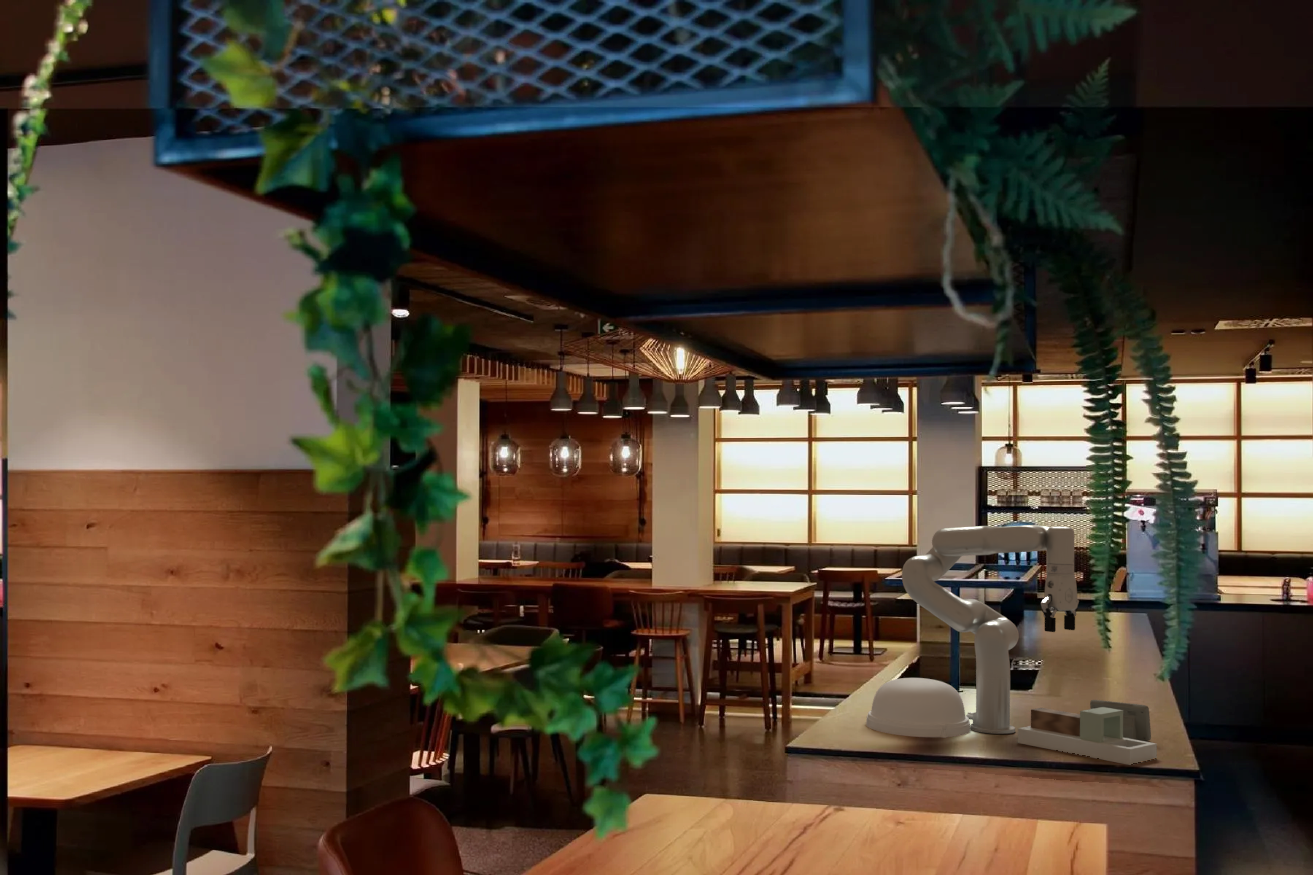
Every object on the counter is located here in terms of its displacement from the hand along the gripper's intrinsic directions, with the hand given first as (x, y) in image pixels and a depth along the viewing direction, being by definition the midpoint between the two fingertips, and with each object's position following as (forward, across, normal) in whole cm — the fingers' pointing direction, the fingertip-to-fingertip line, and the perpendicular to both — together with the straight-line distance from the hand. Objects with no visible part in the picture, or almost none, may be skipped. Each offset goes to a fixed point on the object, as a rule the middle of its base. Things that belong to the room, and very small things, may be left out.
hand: (1059, 630), depth 352 cm
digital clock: (+31, +14, -10) cm, 35 cm away
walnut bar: (+26, -9, -6) cm, 28 cm away
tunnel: (+26, -9, -18) cm, 33 cm away
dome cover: (+31, -20, +34) cm, 50 cm away
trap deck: (+30, -9, -14) cm, 34 cm away
